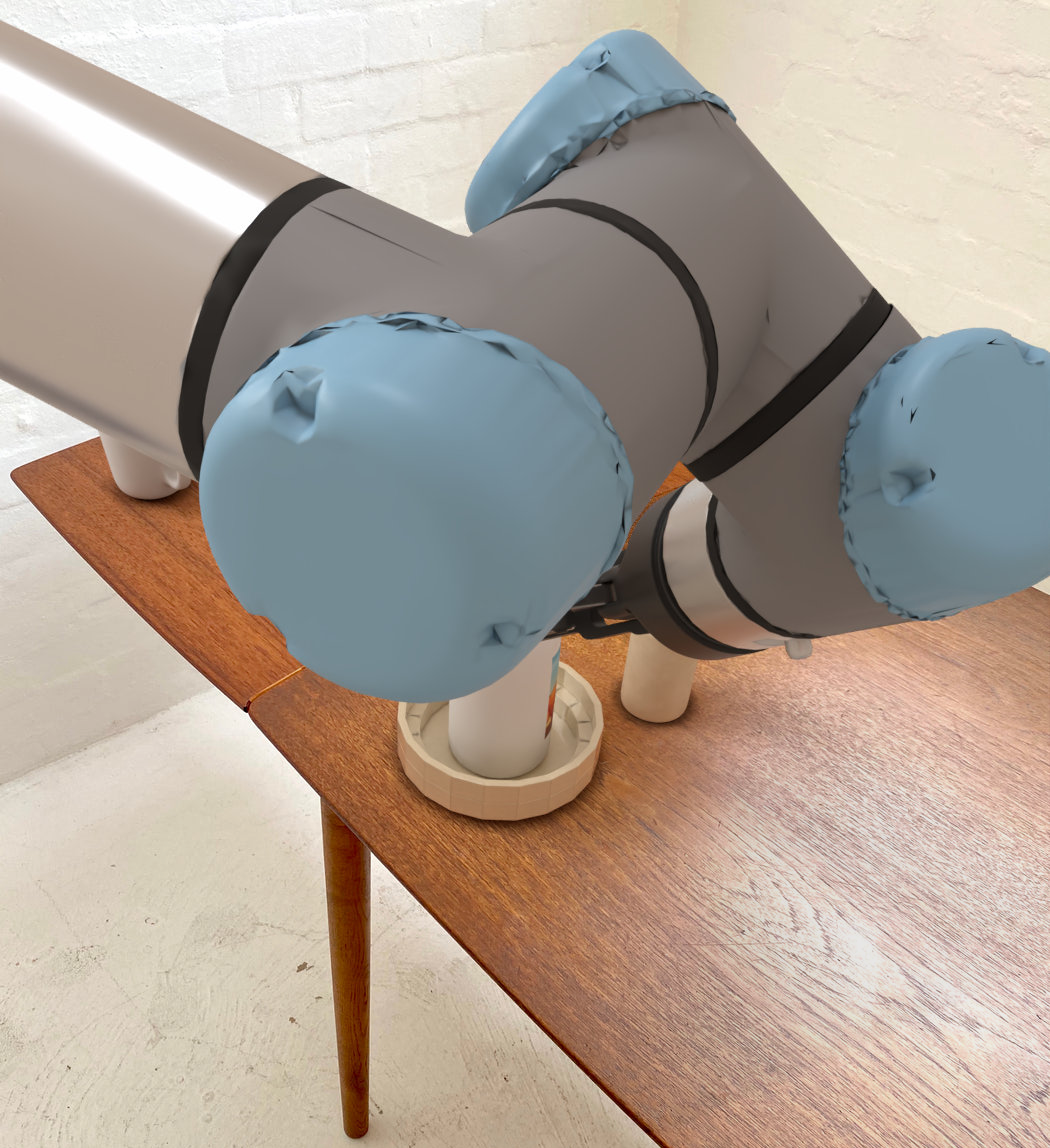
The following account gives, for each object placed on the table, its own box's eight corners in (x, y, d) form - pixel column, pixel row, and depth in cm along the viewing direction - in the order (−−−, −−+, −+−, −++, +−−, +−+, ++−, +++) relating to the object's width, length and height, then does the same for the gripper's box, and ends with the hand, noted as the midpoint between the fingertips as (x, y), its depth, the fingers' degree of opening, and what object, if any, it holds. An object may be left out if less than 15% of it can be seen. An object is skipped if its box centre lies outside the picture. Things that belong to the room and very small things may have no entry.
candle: (670, 733, 88) (692, 634, 81) (608, 706, 89) (624, 608, 83) (697, 694, 91) (720, 597, 85) (637, 669, 93) (655, 572, 86)
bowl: (428, 843, 78) (429, 804, 75) (377, 701, 88) (376, 662, 85) (627, 800, 82) (635, 762, 79) (556, 669, 92) (560, 632, 90)
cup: (228, 500, 107) (218, 426, 102) (156, 531, 103) (142, 454, 97) (164, 456, 112) (152, 383, 107) (93, 483, 108) (76, 408, 102)
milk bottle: (530, 793, 81) (554, 571, 68) (432, 764, 83) (437, 541, 69) (561, 726, 87) (589, 508, 73) (469, 700, 88) (480, 481, 75)
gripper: (460, 705, 41) (373, 726, 61) (1016, 605, 48) (772, 653, 68) (423, 504, 41) (349, 592, 61) (984, 434, 48) (750, 533, 68)
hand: (572, 624), depth 65 cm, fingers open, 13 cm apart
